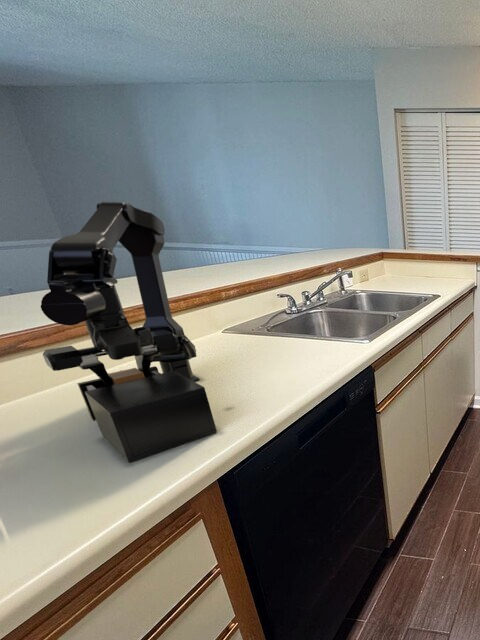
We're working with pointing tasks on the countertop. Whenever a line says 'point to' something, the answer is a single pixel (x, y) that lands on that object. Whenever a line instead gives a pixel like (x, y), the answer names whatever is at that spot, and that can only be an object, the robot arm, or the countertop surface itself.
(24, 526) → the countertop surface
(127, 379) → the block
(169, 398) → the black slanted wedge box
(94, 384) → the rack
